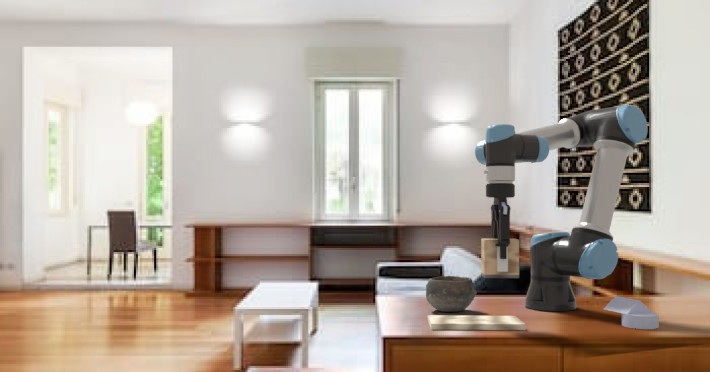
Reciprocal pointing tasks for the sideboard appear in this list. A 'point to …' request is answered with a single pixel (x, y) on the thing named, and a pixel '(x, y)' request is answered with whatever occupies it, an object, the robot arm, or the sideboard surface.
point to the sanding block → (491, 259)
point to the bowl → (450, 293)
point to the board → (474, 322)
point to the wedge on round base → (633, 313)
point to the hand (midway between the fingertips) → (500, 270)
